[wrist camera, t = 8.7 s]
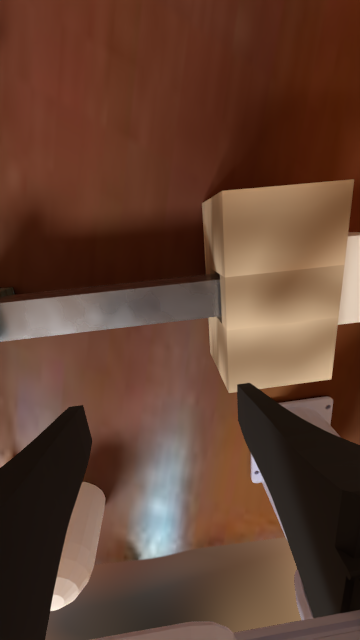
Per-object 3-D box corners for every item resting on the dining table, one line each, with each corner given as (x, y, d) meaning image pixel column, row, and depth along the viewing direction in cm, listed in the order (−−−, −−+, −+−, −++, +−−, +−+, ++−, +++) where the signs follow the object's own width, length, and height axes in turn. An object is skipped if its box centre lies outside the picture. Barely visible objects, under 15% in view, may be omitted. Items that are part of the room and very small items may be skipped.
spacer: (340, 305, 22) (378, 319, 19) (290, 310, 22) (318, 327, 18) (349, 232, 20) (393, 231, 17) (294, 237, 20) (326, 238, 16)
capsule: (98, 522, 28) (76, 630, 20) (47, 514, 27) (4, 624, 19) (112, 486, 27) (94, 587, 19) (58, 476, 26) (18, 579, 18)
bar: (289, 295, 21) (338, 317, 16) (-9, 328, 20) (-75, 366, 14) (291, 257, 20) (344, 267, 15) (-23, 290, 19) (-98, 315, 13)
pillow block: (288, 343, 23) (331, 379, 17) (210, 352, 23) (229, 392, 17) (295, 195, 19) (354, 179, 13) (201, 203, 19) (222, 190, 13)
